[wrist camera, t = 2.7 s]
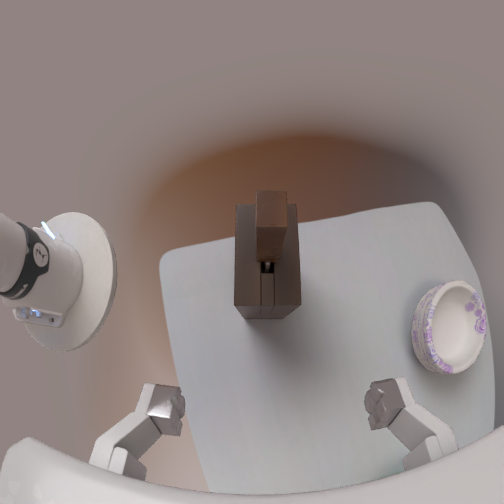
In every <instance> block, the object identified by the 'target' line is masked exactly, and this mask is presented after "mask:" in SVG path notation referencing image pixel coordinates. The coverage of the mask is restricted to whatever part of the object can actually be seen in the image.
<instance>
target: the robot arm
mask: <svg viewBox="0 0 504 504" xmlns="http://www.w3.org/2000/svg"><path fill="white" fill-rule="evenodd" d="M42 224H43V226H44V227H45V229H46V230H47V232H48V233H47V232H45V231H43V230H41V229H39V228H36V227H34V228H33V229H31V228H30V227H29V226H27V225H25V224H22V223H20V222H14V221H13V220H11V219H10V218H8V217H6V216H5V215H3V214H2V213H0V295H1V296H2V300H3V303H4V305H5V306H6V307H8V308H12V310H13V314H14V316H15V319H16V320H18V321H22V322H26V323H32V324H38V325H44V326H50V327H57V328H60V327H62V326H63V324H64V321H65V318H66V315H67V313H68V311H69V310H70V309H71V307H72V306H73V305H74V303H75V302H76V300H77V298H78V296H79V293H80V290H81V286H82V281H83V265H82V261H81V258H80V255H79V253H78V251H77V250H76V249H75V248H74V247H73V246H72V245H70V244H68V243H66V242H65V241H64V239H63V237H62V235H61V234H59V233H57V232H55V233H53V234H52V233H51V232H50V230H49V229H48V227H47V225H46V224H45V223H44V222H42ZM53 320H54V321H53ZM364 404H365V409H366V411H367V412H368V413H370V415H369V417H368V420H369V424H370V428H371V430H376V429H381V428H386V427H388V429H389V430H390V431H391V432H392V433H393V434H394V435H395V436H396V437H397V438H398V439H399V440H400V441H401V442H402V443H403V444H404V445H405V446H406V447H407V448H408V449H409V450H410V451H411V452H410V453H409V454H408V455H406V456H405V457H404V458H403V460H402V461H403V465H404V469H405V471H404V472H401V473H398V474H395V475H391V476H388V477H384V478H381V479H377V480H373V481H369V482H365V483H360V484H356V485H351V486H346V487H340V488H334V489H328V490H321V491H313V492H303V493H291V494H270V495H246V494H225V493H213V492H203V491H195V490H188V489H181V488H176V487H170V486H165V485H160V484H155V483H151V482H147V481H145V477H146V472H147V469H146V467H145V466H144V465H143V464H142V463H140V462H139V461H138V459H139V458H140V457H141V456H142V455H143V454H144V453H145V452H146V451H147V450H148V449H149V448H150V447H151V446H152V445H153V444H154V443H155V442H156V441H157V439H159V438H160V436H161V435H162V434H166V435H173V436H180V434H181V429H182V422H181V420H180V419H181V418H182V417H183V416H184V413H185V399H184V397H183V396H182V395H181V389H180V387H175V386H167V385H159V384H153V383H145V384H144V386H143V388H142V391H141V394H140V397H139V400H138V403H137V406H136V409H135V413H133V412H131V413H130V414H129V415H127V416H126V417H125V418H124V419H122V420H121V421H120V422H118V423H117V424H116V425H115V426H114V427H112V428H111V429H110V430H108V431H107V432H106V433H104V434H103V435H102V436H100V437H99V438H98V439H97V440H96V443H95V446H94V449H93V452H92V455H91V457H90V461H89V463H86V462H84V461H81V460H79V459H76V458H74V457H72V456H70V455H67V454H65V453H63V452H60V451H59V450H56V449H54V448H52V447H50V446H48V445H46V444H44V443H42V442H40V441H39V440H37V439H35V438H32V437H27V438H25V439H23V440H21V441H19V442H17V443H16V444H14V445H12V446H11V447H10V448H9V449H8V451H7V453H6V456H5V458H4V461H3V464H2V468H1V471H0V504H504V424H503V425H502V426H500V427H498V428H497V429H495V430H493V431H492V432H490V433H488V434H487V435H485V436H483V437H482V438H480V439H478V440H476V441H474V442H472V443H470V444H469V445H467V446H465V447H463V448H461V449H459V448H458V445H457V442H456V440H455V437H454V434H453V432H452V429H451V427H449V426H448V425H447V424H445V423H444V422H442V421H441V420H440V419H438V418H437V417H436V416H434V415H433V414H432V413H430V412H429V411H428V410H426V409H425V408H424V407H422V406H421V405H420V404H416V403H415V401H414V398H413V396H412V394H411V391H410V389H409V386H408V384H407V382H406V379H405V378H404V377H396V378H390V379H385V380H380V381H375V382H372V383H371V385H370V390H369V391H367V393H366V395H365V399H364Z"/></svg>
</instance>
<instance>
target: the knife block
mask: <svg viewBox="0 0 504 504" xmlns="http://www.w3.org/2000/svg"><path fill="white" fill-rule="evenodd" d="M287 210H288V230H287V234H286V238H285V241H284V245H283V249H282V253H281V257H280V260H279V262H270V268H269V273H264V262H256V204H244V205H243V204H240V205H236V235H235V283H234V306H235V307H236V308H237V310H238V311H239V312H240V314H241V315H242V316H243V318H244V319H283V318H285V317H286V316H287V315H289V314H290V313H291V312H293V311H294V310H295V309H296V308H298V307H299V306H300V305H301V281H300V258H299V239H298V222H297V209H296V204H287Z"/></svg>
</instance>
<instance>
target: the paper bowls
mask: <svg viewBox="0 0 504 504" xmlns="http://www.w3.org/2000/svg"><path fill="white" fill-rule="evenodd" d="M485 335H486V314H485V309H484V305H483V303H482V300H481V298H480V296H479V295H478V293H477V292H476V290H475V289H474V288H473V287H472V286H470V285H469V284H467V283H465V282H463V281H451V282H448V283H445V284H442V285H440V286H437V287H434V288H432V289H431V290H429V291H428V292H427V293H426V294H425V295H424V296H423V297H422V299H421V300H420V302H419V304H418V305H417V308H416V310H415V313H414V317H413V321H412V331H411V336H412V345H413V349H414V352H415V355H416V357H417V359H418V360H419V362H420V363H421V364H422V365H423V366H424V367H425V368H426V369H427V370H429V371H431V372H435V373H444V374H458V373H461V372H463V371H465V370H466V369H467V368H469V367H470V366H471V365H472V364H473V363H474V362H475V360H476V359H477V357H478V356H479V354H480V352H481V349H482V347H483V344H484V340H485Z"/></svg>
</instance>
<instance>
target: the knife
mask: <svg viewBox="0 0 504 504" xmlns="http://www.w3.org/2000/svg"><path fill="white" fill-rule="evenodd" d="M255 196H256V200H255V202H256V262H264V273H269V268H270V262H279V260H280V257H281V253H282V249H283V245H284V241H285V238H286V234H287V230H288V210H287V193H286V191H269V190H268V191H265V190H264V191H256V195H255Z"/></svg>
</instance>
